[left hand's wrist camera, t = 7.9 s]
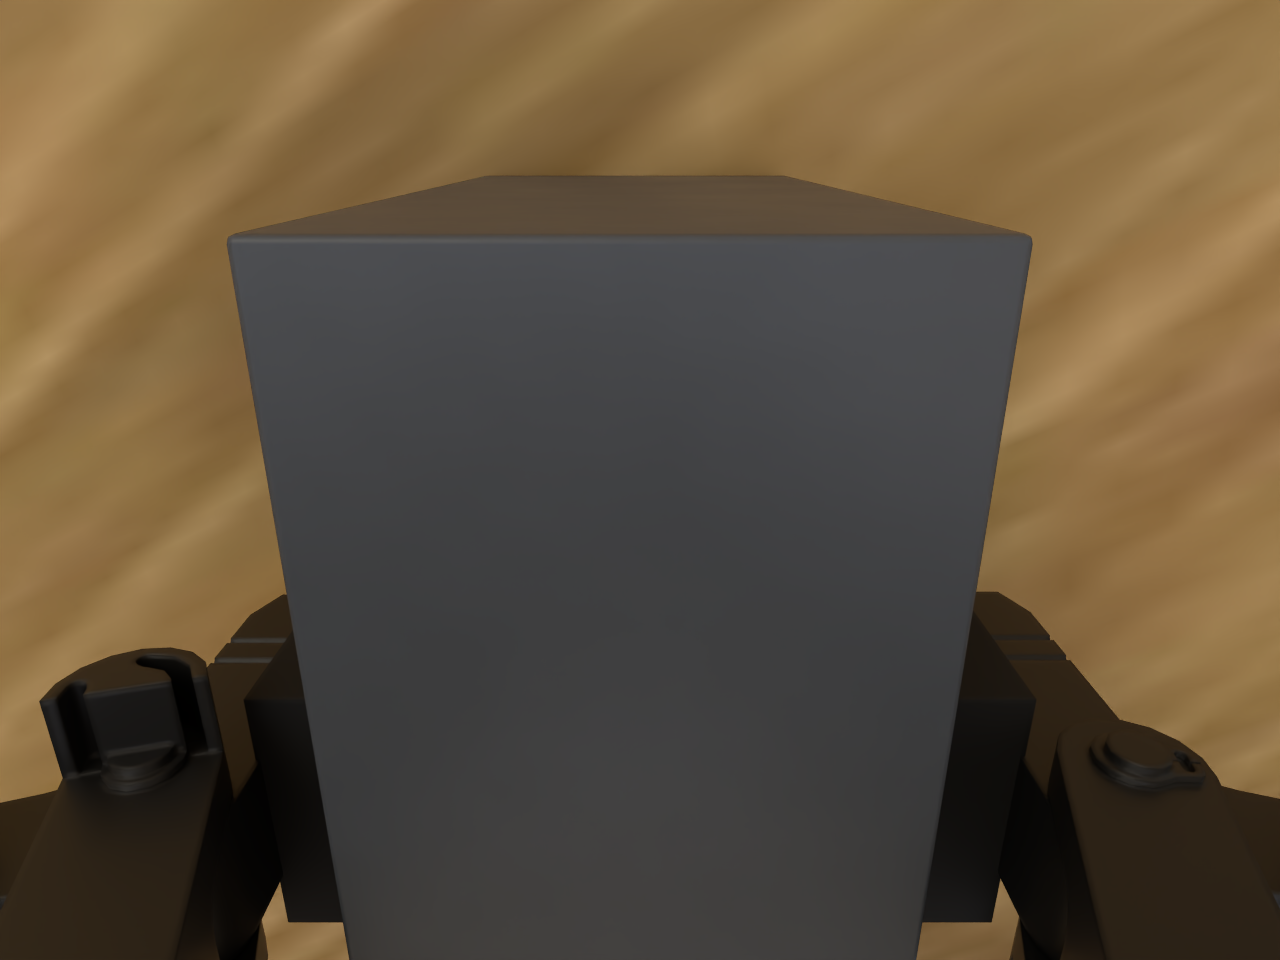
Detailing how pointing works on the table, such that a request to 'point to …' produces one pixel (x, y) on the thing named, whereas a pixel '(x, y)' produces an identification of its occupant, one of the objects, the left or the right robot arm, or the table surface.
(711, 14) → the table surface
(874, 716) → the bar
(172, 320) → the table surface
